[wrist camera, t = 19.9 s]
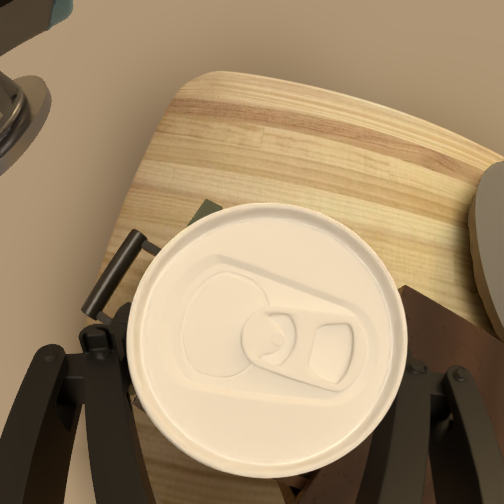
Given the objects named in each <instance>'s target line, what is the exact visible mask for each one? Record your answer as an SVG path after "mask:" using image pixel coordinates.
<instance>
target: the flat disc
mask: <svg viewBox="0 0 504 504" xmlns="http://www.w3.org/2000/svg"><path fill="white" fill-rule="evenodd" d="M468 227H469V229H470V251H471V256H472V258H473V268H474V278H475V282H476V285H477V290H478V292H479V295H480V297H481V299H482V301H483V304H484V308H485V310H486V312H487V314H488V317H489V319H490V320H491V323H492V326H493V328H494V331H495V333H496V334H497V335H498V336H499V338H500V339H501V340H502V341H503V342H504V161H502V162H497V163H495V164H493V165H491V166H490V167H489V168H488V169H487V170H486V171H485V172H484V174H483V175H482V177H481V180H480V182H479V185H478V190H477V194H476V195H475V196H474V197H473V201H472V203H471V204H470V209H469V214H468Z"/></svg>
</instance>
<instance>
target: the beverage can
mask: <svg viewBox="0 0 504 504" xmlns="http://www.w3.org/2000/svg"><path fill="white" fill-rule="evenodd" d="M407 345H408V337H407V324H406V317H405V312H404V307H403V304H402V300H401V297H400V294H399V292H398V289H397V287H396V285H395V282H394V280H393V278H392V276H391V275H390V273H389V271H388V269H387V268H386V266H385V265H384V263H383V262H382V260H381V259H380V258H379V256H378V255H377V254H376V253H375V252H374V250H373V249H372V248H371V247H370V246H369V245H368V244H367V243H366V242H365V241H364V240H363V239H362V238H361V237H359V236H358V235H357V234H356V233H355V232H353V231H352V230H351V229H349V228H348V227H346V226H345V225H343V224H342V223H340V222H338V221H336V220H335V219H333V218H331V217H329V216H327V215H324V214H322V213H320V212H317V211H314V210H311V209H308V208H305V207H301V206H296V205H291V204H284V203H267V202H266V203H250V204H243V205H238V206H234V207H230V208H226V209H223V210H220V211H217V212H215V213H212V214H210V215H208V216H205V217H203V218H201V219H200V220H198V221H196V222H194V223H193V224H191V225H190V226H188V227H186V228H185V229H184V230H182V231H181V232H180V233H178V234H177V235H176V236H175V237H174V238H173V239H171V240H170V241H169V242H168V243H167V244H166V245H165V246H164V247H163V248H162V250H161V251H160V252H159V253H158V254H157V256H156V257H155V258H154V259H153V261H152V262H151V264H150V265H149V267H148V268H147V270H146V272H145V273H144V275H143V277H142V279H141V281H140V283H139V285H138V288H137V290H136V293H135V295H134V298H133V302H132V305H131V309H130V314H129V319H128V327H127V340H126V348H127V360H128V367H129V372H130V376H131V380H132V383H133V386H134V389H135V391H136V394H137V396H138V398H139V401H140V403H141V405H142V407H143V408H144V410H145V412H146V413H147V415H148V416H149V418H150V419H151V421H152V422H153V424H154V425H155V426H156V427H157V429H158V430H159V431H160V432H161V433H162V434H163V435H164V436H165V437H166V438H167V439H168V440H169V441H170V442H171V443H172V444H173V445H174V446H176V447H177V448H178V449H179V450H181V451H182V452H184V453H185V454H186V455H188V456H190V457H191V458H193V459H195V460H196V461H198V462H200V463H202V464H204V465H206V466H209V467H211V468H213V469H216V470H219V471H222V472H225V473H229V474H233V475H238V476H245V477H254V478H281V477H289V476H295V475H299V474H303V473H307V472H310V471H313V470H316V469H319V468H321V467H324V466H326V465H328V464H330V463H332V462H334V461H336V460H338V459H339V458H341V457H343V456H344V455H346V454H347V453H349V452H350V451H352V450H353V449H354V448H355V447H357V446H358V445H359V444H360V443H361V442H363V441H364V440H365V439H366V438H367V437H368V436H369V435H370V434H371V433H372V431H373V430H374V429H375V428H376V427H377V426H378V424H379V423H380V422H381V420H382V419H383V417H384V416H385V415H386V413H387V411H388V410H389V408H390V406H391V404H392V402H393V400H394V398H395V396H396V394H397V392H398V389H399V386H400V384H401V380H402V377H403V373H404V369H405V364H406V357H407Z"/></svg>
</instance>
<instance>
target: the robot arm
mask: <svg viewBox="0 0 504 504" xmlns="http://www.w3.org/2000/svg"><path fill="white" fill-rule="evenodd" d="M72 10H73V0H0V56H2V55H3V54H5V53H6V52H8V51H10V50H11V49H13V48H15V47H16V46H18V45H20V44H22V43H23V42H25V41H27V40H29V39H31V38H32V37H34V36H36V35H38V34H40V33H42V32H44V31H47V30H49V29H50V28H51V27H52V26H54V25H56V24H58V23H59V22H61V21H63V20H65V19H66V18H68V16H69V15H70V14H71V13H72ZM25 103H26V96H25V94H24V92H23V90H22V88H21V87H20V86H19V85H18V84H17V83H15V82H14V81H13V80H11V79H10V78H9V77H7V76H6V75H4V74H3V73H2V72H1V71H0V141H1V140H2V139H3V138H4V137H5V136H6V135H7V134H8V133H9V131H10V130H11V129H12V127H13V126H14V125H15V123H16V122H17V120H18V119H19V117H20V115H21V113H22V111H23V109H24V106H25ZM131 305H132V303H130V302H127V303H126V304H124V305H123V306H122V307H120V308H119V310H118V311H117V313H116V314H115V317H114V318H113V319H112V322H111V323H110V325H109V326H107V325H104V324H93V325H89V326H87V327H86V328H84V329H83V330H82V331H81V332H80V334H79V340H80V344H81V347H82V350H83V353H79V354H65V351H64V349H63V348H62V347H61V346H60V345H56V344H49V345H46V346H43V347H41V348H40V349H39V350H38V351H37V352H36V354H35V355H34V357H33V360H32V362H31V364H30V366H29V368H28V370H27V373H26V375H25V377H24V379H23V382H22V384H21V386H20V389H19V391H18V393H17V396H16V398H15V401H14V403H13V406H12V408H11V411H10V413H9V416H8V419H7V421H6V424H5V427H4V429H3V432H2V435H1V438H0V504H64V497H65V490H66V483H67V477H68V471H69V465H70V460H71V454H72V449H73V444H74V439H75V435H76V430H77V425H78V421H79V417H80V413H81V408H82V404H85V416H86V430H87V441H88V450H89V459H90V467H91V474H92V480H93V487H94V492H95V498H96V503H97V504H156V501H155V498H154V495H153V492H152V488H151V485H150V481H149V478H148V474H147V470H146V467H145V463H144V459H143V455H142V451H141V447H140V442H139V438H138V434H137V429H136V424H135V419H134V415H133V409H132V404H131V399H130V394H129V391H128V390H129V387H130V385H131V382H132V380H131V376H130V372H129V367H128V360H127V348H126V340H127V327H128V319H129V314H130V309H131ZM132 386H133V383H132ZM133 389H134V386H133ZM134 391H135V389H134ZM452 417H453V418H452ZM428 454H429V460H430V466H431V472H432V479H433V486H434V493H435V501H436V504H504V460H503V457H502V453H501V450H500V447H499V444H498V441H497V438H496V435H495V432H494V429H493V426H492V423H491V421H490V418H489V415H488V412H487V410H486V407H485V405H484V402H483V400H482V397H481V395H480V392H479V390H478V387H477V385H476V383H475V380H474V378H473V376H472V374H471V373H470V371H468V370H467V369H466V368H464V367H462V366H459V365H453V366H450V367H449V368H448V369H447V371H446V373H439V372H433V371H430V370H429V367H428V366H427V365H426V363H424V362H423V361H421V360H419V359H417V358H414V357H413V355H412V353H411V352H410V350H409V348H408V346H407V357H406V364H405V369H404V373H403V377H402V380H401V384H400V386H399V389H398V392H397V394H396V396H395V398H394V400H393V402H392V404H391V406H390V408H389V410H388V411H387V413H386V415H385V416H384V417H383V419H382V420H381V422H380V423H379V424H378V426H377V427H376V428H375V429H374V431H373V436H372V441H371V445H370V449H369V454H368V458H367V462H366V466H365V470H364V473H363V477H362V481H361V484H360V488H359V491H358V495H357V498H356V501H355V504H422V501H423V495H424V487H425V479H426V471H427V460H428Z"/></svg>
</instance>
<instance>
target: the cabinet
mask: <svg viewBox="0 0 504 504" xmlns="http://www.w3.org/2000/svg"><path fill="white" fill-rule="evenodd" d="M398 292H399V294H400V297H401V300H402V304H403V307H404V312H405V317H406V324H407V337H408V345H407V346H408V348H409V350H410V352H411V353H412V355H413V357H414V358H417V359H419V360H421V361H423V362H424V363H426V365H427V366H428V367H429V370H430V371H433V372H439V373H446V371H447V369H448V368H449V367H450V366H453V365H459V366H462V367H464V368H466V369H467V370H468V371H470V373H471V374H472V376H473V378H474V380H475V383H476V385H477V387H478V390H479V392H480V395H481V397H482V400H483V402H484V405H485V407H486V410H487V412H488V415H489V418H490V421H491V423H492V426H493V429H494V432H495V435H496V438H497V441H498V444H499V447H500V450H501V453H502V457H503V460H504V343H503V342H501V341H500V340H498V339H496V338H495V337H493V336H492V335H490V334H488V333H487V332H485V331H483V330H482V329H480V328H478V327H477V326H475V325H474V324H472V323H470V322H469V321H467V320H465V319H464V318H462V317H460V316H459V315H457V314H455V313H453V312H452V311H450V310H448V309H447V308H445V307H443V306H442V305H440V304H438V303H436V302H435V301H433V300H431V299H430V298H428V297H426V296H424V295H423V294H421V293H419V292H417V291H416V290H414V289H412V288H410V287H409V286H407V285H404V286H402V287H401V288H399V289H398ZM452 418H453V417H452ZM373 431H374V430H373ZM373 431H372V433H371V434H370V435H369V436H368V437H367V438H366V439H365V440H364V441H363V442H361V443H360V444H359V445H358V446H357V447H355V448H354V449H353V450H352V451H350V452H349V453H347V454H346V455H344V456H343V457H341V458H339V459H338V460H336V461H334V462H332V463H330V464H328V465H326V466H324V467H321V468H319V469H316V470H313V472H312V474H311V475H310V477H309V478H308V480H307V482H306V483H305V485H304V486H303V488H302V489H298V488H295V487H292V486H290V485H287V484H284V483H282V482H279V481H277V482H278V485H279V488H280V490H281V493H282V496H283V498H284V501H285V503H286V504H355V501H356V498H357V495H358V491H359V488H360V484H361V481H362V477H363V473H364V470H365V466H366V462H367V458H368V454H369V449H370V445H371V441H372V436H373ZM422 504H436V501H435V493H434V486H433V479H432V472H431V466H430V460H429V454H428V460H427V471H426V479H425V487H424V495H423V501H422Z"/></svg>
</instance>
